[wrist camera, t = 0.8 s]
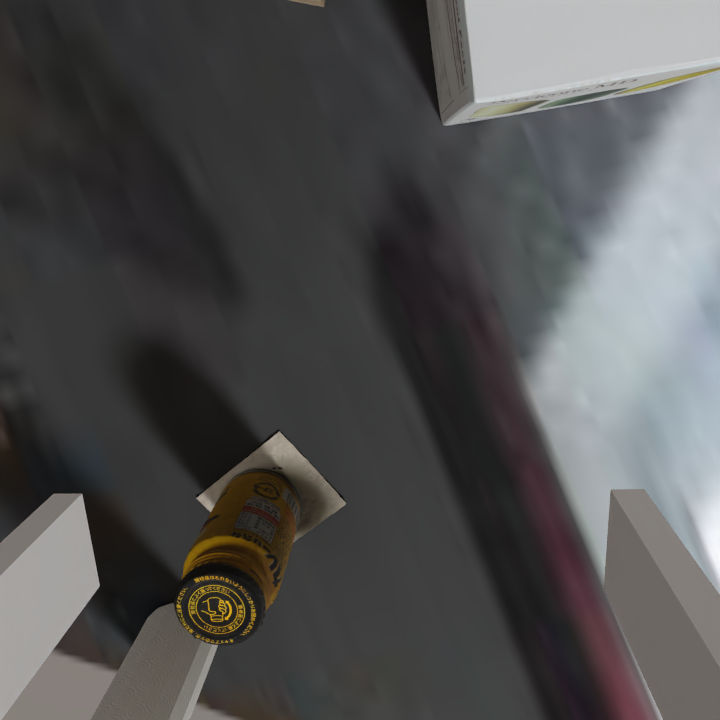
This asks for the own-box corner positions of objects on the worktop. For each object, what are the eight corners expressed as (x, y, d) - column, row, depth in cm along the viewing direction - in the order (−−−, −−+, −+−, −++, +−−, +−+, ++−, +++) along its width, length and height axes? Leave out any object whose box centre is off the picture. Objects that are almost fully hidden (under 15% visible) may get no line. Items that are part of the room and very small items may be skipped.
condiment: (197, 496, 48) (133, 601, 37) (279, 430, 46) (239, 519, 35) (263, 563, 49) (222, 684, 38) (347, 501, 47) (329, 609, 36)
